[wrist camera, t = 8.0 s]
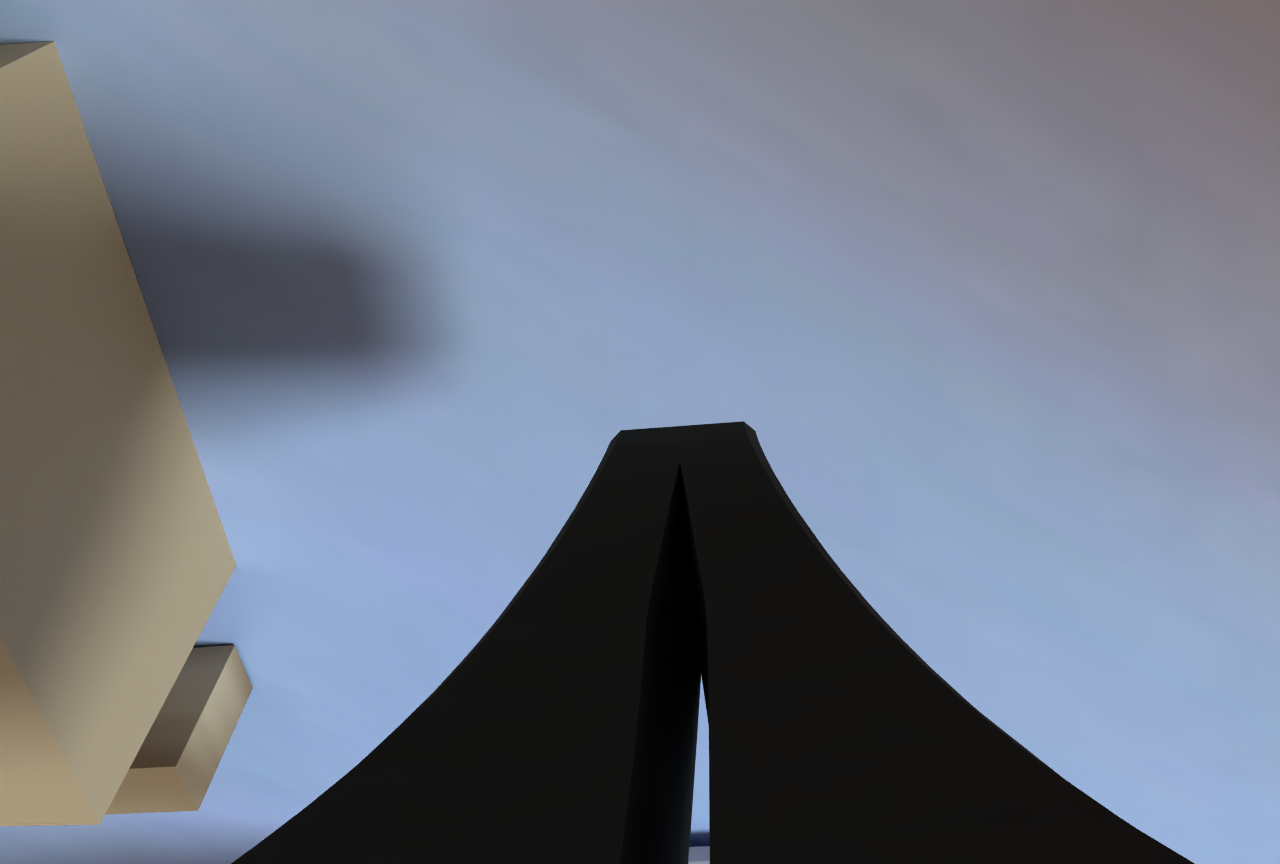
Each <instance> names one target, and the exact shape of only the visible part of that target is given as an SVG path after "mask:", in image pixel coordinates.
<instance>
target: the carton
mask: <svg viewBox="0 0 1280 864" xmlns="http://www.w3.org/2000/svg"><path fill="white" fill-rule="evenodd" d="M235 567H236V563H235V560H234V557H233V555H232V552H231V549H230V546H229V543H228V540H227V537H226V534H225V532H224V529H223V526H222V523H221V520H220V517H219V514H218V511H217V509H216V506H215V503H214V500H213V497H212V494H211V491H210V488H209V486H208V483H207V480H206V477H205V474H204V471H203V468H202V465H201V462H200V460H199V457H198V454H197V451H196V448H195V445H194V442H193V439H192V437H191V434H190V431H189V428H188V425H187V422H186V419H185V416H184V414H183V411H182V408H181V405H180V402H179V399H178V396H177V393H176V391H175V388H174V385H173V382H172V379H171V376H170V373H169V370H168V367H167V365H166V362H165V359H164V356H163V353H162V350H161V347H160V344H159V342H158V339H157V336H156V333H155V330H154V327H153V324H152V321H151V319H150V316H149V313H148V310H147V307H146V304H145V301H144V298H143V296H142V293H141V290H140V287H139V284H138V281H137V278H136V275H135V272H134V270H133V267H132V264H131V261H130V258H129V255H128V252H127V249H126V247H125V244H124V241H123V238H122V235H121V232H120V229H119V226H118V224H117V221H116V218H115V215H114V212H113V209H112V206H111V203H110V201H109V198H108V195H107V192H106V189H105V186H104V183H103V180H102V177H101V175H100V172H99V169H98V166H97V163H96V160H95V157H94V154H93V152H92V149H91V146H90V143H89V140H88V137H87V134H86V131H85V129H84V126H83V123H82V120H81V117H80V114H79V111H78V108H77V106H76V103H75V100H74V97H73V94H72V91H71V88H70V85H69V82H68V80H67V77H66V74H65V71H64V68H63V65H62V62H61V59H60V57H59V54H58V51H57V48H56V45H55V42H54V41H52V42H35V43H18V44H1V45H0V826H36V825H97V824H100V823H101V821H102V819H103V818H104V816H105V814H106V812H107V810H108V808H109V806H110V804H111V802H112V800H113V799H114V797H115V795H116V793H117V791H118V789H119V787H120V785H121V783H122V781H123V780H124V778H125V776H126V774H127V772H128V770H129V768H130V766H131V764H132V763H133V761H134V759H135V757H136V755H137V753H138V751H139V749H140V747H141V745H142V744H143V742H144V740H145V738H146V736H147V734H148V732H149V730H150V728H151V726H152V725H153V723H154V721H155V719H156V717H157V715H158V713H159V711H160V709H161V707H162V706H163V704H164V702H165V700H166V698H167V696H168V694H169V692H170V690H171V688H172V687H173V685H174V683H175V681H176V679H177V677H178V675H179V673H180V671H181V670H182V668H183V666H184V664H185V662H186V660H187V658H188V656H189V654H190V652H191V651H192V649H193V647H194V645H195V643H196V641H197V639H198V637H199V635H200V633H201V632H202V630H203V628H204V626H205V624H206V622H207V620H208V618H209V616H210V614H211V613H212V611H213V609H214V607H215V605H216V603H217V601H218V599H219V597H220V595H221V594H222V592H223V590H224V588H225V586H226V584H227V582H228V580H229V578H230V577H231V575H232V573H233V571H234V569H235Z"/></svg>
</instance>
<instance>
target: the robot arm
mask: <svg viewBox="0 0 1280 864" xmlns="http://www.w3.org/2000/svg"><path fill="white" fill-rule="evenodd" d="M701 675H702V682H703V689H704V696H705V702H706V709H707V716H708V723H709V801H710V846H698V847H689V846H690V831H691V816H692V802H693V787H694V773H695V758H696V744H697V729H698V714H699V698H700V683H701ZM231 864H1194V863H1193V862H1191V861H1189V860H1188V859H1186V858H1184V857H1183V856H1181V855H1179V854H1178V853H1176V852H1174V851H1173V850H1171V849H1169V848H1168V847H1166V846H1164V845H1163V844H1161V843H1159V842H1158V841H1156V840H1155V839H1153V838H1151V837H1150V836H1148V835H1146V834H1145V833H1143V832H1141V831H1140V830H1138V829H1136V828H1135V827H1133V826H1132V825H1130V824H1129V823H1127V822H1126V821H1124V820H1123V819H1121V818H1120V817H1118V816H1117V815H1115V814H1114V813H1112V812H1111V811H1109V810H1108V809H1107V808H1105V807H1104V806H1102V805H1101V804H1099V803H1098V802H1097V801H1095V800H1094V799H1092V798H1091V797H1089V796H1088V795H1086V794H1085V793H1084V792H1082V791H1081V790H1079V789H1078V788H1076V787H1075V786H1074V785H1072V784H1071V783H1069V782H1068V781H1066V780H1065V779H1064V778H1062V777H1061V776H1060V775H1059V774H1057V773H1056V772H1055V771H1053V770H1052V769H1051V768H1050V767H1048V766H1047V765H1046V764H1045V763H1043V762H1042V761H1041V760H1040V759H1038V758H1037V757H1036V756H1035V755H1033V754H1032V753H1031V752H1029V751H1028V750H1027V749H1026V748H1024V747H1023V746H1022V745H1021V744H1019V743H1018V742H1017V741H1016V740H1014V739H1013V738H1012V737H1011V736H1009V735H1008V734H1007V733H1006V732H1004V731H1003V730H1002V729H1000V728H999V727H998V726H997V725H995V724H994V723H993V722H992V721H990V720H989V719H988V718H987V717H985V716H984V715H983V714H982V713H980V712H979V711H978V710H977V709H976V708H974V707H973V706H972V705H971V704H970V703H969V702H968V701H967V700H965V699H964V698H963V697H962V696H961V695H960V694H959V693H958V692H957V691H956V690H955V689H953V688H952V687H951V686H950V685H949V684H948V683H947V682H946V681H945V680H944V679H942V678H941V677H940V676H939V675H938V674H937V673H936V672H935V671H934V670H933V669H931V668H930V667H929V666H928V665H927V664H926V663H925V662H924V661H923V660H922V659H921V658H920V657H919V656H918V655H917V654H916V653H915V652H914V651H913V650H912V649H911V648H910V647H909V646H908V645H907V644H906V643H905V642H904V641H903V640H902V639H901V638H900V637H899V636H898V635H897V634H896V633H895V631H894V630H893V629H892V628H891V627H890V626H889V625H888V624H887V623H886V622H885V621H884V620H883V619H882V618H881V616H880V615H879V614H878V613H877V612H876V611H875V610H874V609H873V607H872V606H871V605H870V604H869V603H868V602H867V601H866V600H865V598H864V597H863V596H862V595H861V594H860V592H859V591H858V590H857V589H856V588H855V586H854V585H853V584H852V583H851V582H850V580H849V579H848V578H847V577H846V576H845V574H844V573H843V572H842V571H841V570H840V568H839V567H838V566H837V564H836V563H835V562H834V561H833V559H832V558H831V557H830V555H829V554H828V553H827V552H826V550H825V549H824V548H823V546H822V545H821V543H820V542H819V541H818V539H817V538H816V536H815V535H814V534H813V532H812V531H811V529H810V528H809V527H808V525H807V524H806V522H805V521H804V519H803V518H802V517H801V515H800V514H799V512H798V511H797V509H796V508H795V506H794V505H793V503H792V502H791V500H790V499H789V497H788V496H787V494H786V492H785V491H784V489H783V487H782V486H781V484H780V482H779V480H778V479H777V477H776V475H775V474H774V472H773V470H772V468H771V466H770V465H769V463H768V461H767V459H766V457H765V455H764V453H763V450H762V448H761V446H760V443H759V441H758V438H757V435H756V432H755V430H753V429H752V428H751V427H750V426H749V425H747V424H746V423H745V422H730V423H716V424H703V425H689V426H675V427H662V428H648V429H634V430H621V431H620V432H619V433H618V434H617V435H616V436H615V437H614V438H613V439H612V440H611V442H610V444H609V446H608V449H607V451H606V453H605V455H604V457H603V459H602V461H601V463H600V465H599V467H598V469H597V471H596V472H595V474H594V476H593V478H592V480H591V482H590V483H589V485H588V487H587V489H586V490H585V492H584V494H583V495H582V497H581V499H580V501H579V502H578V504H577V506H576V508H575V509H574V511H573V512H572V514H571V515H570V517H569V519H568V520H567V522H566V523H565V525H564V526H563V528H562V529H561V531H560V533H559V534H558V536H557V537H556V539H555V540H554V542H553V543H552V545H551V547H550V548H549V550H548V551H547V553H546V554H545V556H544V557H543V559H542V560H541V562H540V563H539V564H538V566H537V567H536V569H535V570H534V571H533V573H532V574H531V575H530V577H529V578H528V579H527V581H526V582H525V583H524V585H523V586H522V587H521V589H520V590H519V591H518V593H517V594H516V595H515V597H514V598H513V599H512V601H511V602H510V603H509V605H508V606H507V607H506V609H505V610H504V611H503V613H502V614H501V615H500V617H499V618H498V619H497V620H496V622H495V623H494V624H493V625H492V627H491V628H490V629H489V630H488V631H487V633H486V634H485V635H484V636H483V637H482V639H481V640H480V641H479V642H478V643H477V645H476V646H475V647H474V648H473V649H472V650H471V652H470V653H469V654H468V655H467V656H466V657H465V658H464V660H463V661H462V662H461V663H460V664H459V665H458V666H457V667H456V668H455V669H454V670H453V672H452V673H451V674H450V675H449V676H448V677H447V678H446V679H445V680H444V681H443V682H442V684H441V685H440V686H439V687H438V688H437V689H436V690H435V691H434V692H433V693H432V694H431V695H430V696H429V697H428V698H427V699H426V700H425V701H424V702H423V703H422V704H421V705H420V706H419V707H418V708H417V709H416V710H415V711H414V712H413V713H412V714H411V715H410V716H409V717H408V718H407V719H406V720H405V721H404V722H403V723H402V724H401V725H400V726H399V727H398V728H397V729H395V730H394V731H393V732H392V733H391V734H390V735H389V736H388V737H387V738H386V739H385V740H384V741H383V742H382V743H380V744H379V745H378V746H377V747H376V748H375V749H374V750H373V751H372V752H371V753H370V754H369V755H368V756H366V757H365V758H364V759H363V760H362V761H361V762H360V763H359V764H358V765H357V766H355V767H354V768H353V769H352V770H351V771H350V772H348V773H347V774H346V775H345V776H344V777H342V778H341V779H340V780H339V781H338V782H336V783H335V784H334V785H333V786H331V787H330V788H329V789H328V790H327V791H325V792H324V793H323V794H322V795H320V796H319V797H318V798H317V799H316V800H314V801H313V802H312V803H311V804H309V805H308V806H307V807H306V808H304V809H303V810H302V811H301V812H299V813H298V814H297V815H295V816H294V817H293V818H291V819H290V820H289V821H287V822H286V823H285V824H284V825H282V826H281V827H280V828H278V829H277V830H276V831H274V832H273V833H272V834H271V835H269V836H268V837H267V838H265V839H264V840H263V841H261V842H260V843H259V844H257V845H256V846H255V847H253V848H252V849H251V850H249V851H248V852H246V853H245V854H244V855H242V856H241V857H240V858H238V859H237V860H235V861H234V862H233V863H231Z"/></svg>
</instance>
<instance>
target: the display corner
mask: <svg viewBox="0 0 1280 864" xmlns="http://www.w3.org/2000/svg"><path fill="white" fill-rule="evenodd" d="M252 688H253V687H252V684H251V682H250V680H249V677H248V675H247V673H246V670H245V668H244V666H243V663H242V661H241V659H240V656H239V654H238V652H237V649H236V647H235V645H230V646H212V647H195V648H193V649H192V651H191V652H190V654H189V656H188V658H187V660H186V662H185V664H184V666H183V668H182V670H181V671H180V673H179V675H178V677H177V679H176V681H175V683H174V685H173V687H172V688H171V690H170V692H169V694H168V696H167V698H166V700H165V702H164V704H163V706H162V707H161V709H160V711H159V713H158V715H157V717H156V719H155V721H154V723H153V725H152V726H151V728H150V730H149V732H148V734H147V736H146V738H145V740H144V742H143V744H142V745H141V747H140V749H139V751H138V753H137V755H136V757H135V759H134V761H133V763H132V764H131V766H130V768H129V770H128V772H127V774H126V776H125V778H124V780H123V781H122V783H121V785H120V787H119V789H118V791H117V793H116V795H115V797H114V799H113V800H112V802H111V804H110V806H109V808H108V810H107V812H106V814H128V813H151V812H173V811H196V810H198V809H199V807H200V805H201V803H202V801H203V798H204V796H205V794H206V792H207V789H208V787H209V785H210V783H211V780H212V778H213V776H214V774H215V771H216V769H217V767H218V765H219V762H220V760H221V758H222V756H223V753H224V751H225V749H226V747H227V744H228V742H229V740H230V738H231V735H232V733H233V731H234V729H235V726H236V724H237V722H238V720H239V717H240V715H241V713H242V711H243V708H244V706H245V704H246V702H247V700H248V697H249V695H250V693H251V691H252ZM106 814H105V815H106Z"/></svg>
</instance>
